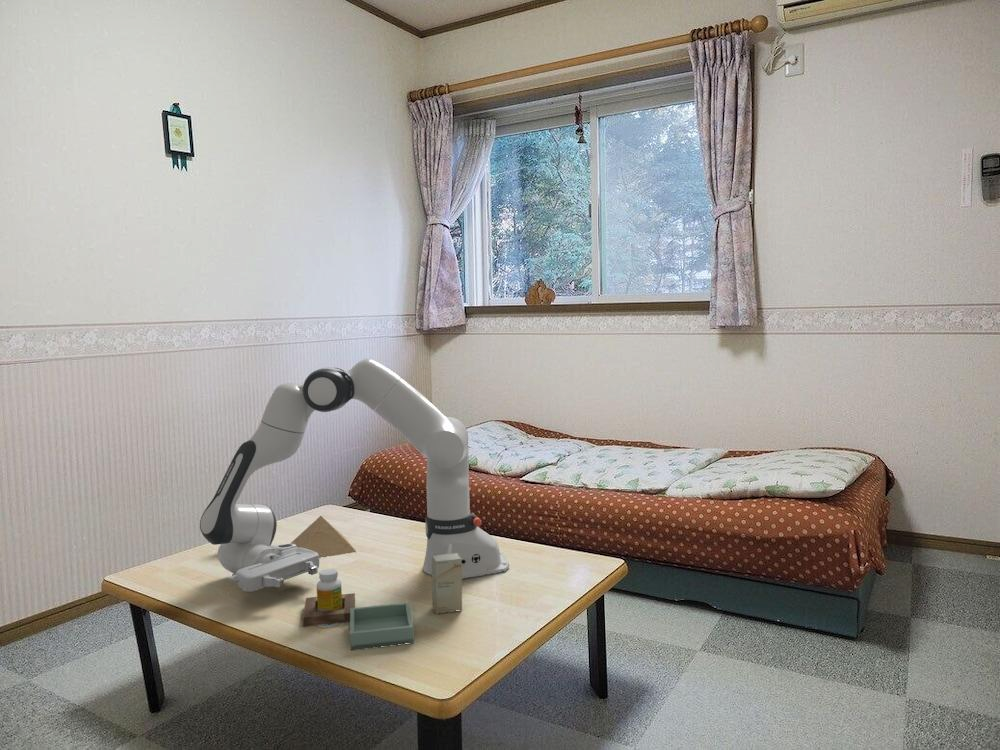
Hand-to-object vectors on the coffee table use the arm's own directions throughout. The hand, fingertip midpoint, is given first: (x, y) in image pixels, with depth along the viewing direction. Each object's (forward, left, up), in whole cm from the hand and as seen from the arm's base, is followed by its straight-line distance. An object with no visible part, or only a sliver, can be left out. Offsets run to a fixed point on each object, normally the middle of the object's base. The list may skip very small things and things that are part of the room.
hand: (298, 576), depth 169 cm
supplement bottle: (-7, +9, -6) cm, 13 cm away
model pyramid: (-3, -38, -7) cm, 39 cm away
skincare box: (-33, +13, -6) cm, 36 cm away
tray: (-18, +22, -6) cm, 29 cm away
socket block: (-7, +9, -6) cm, 13 cm away
